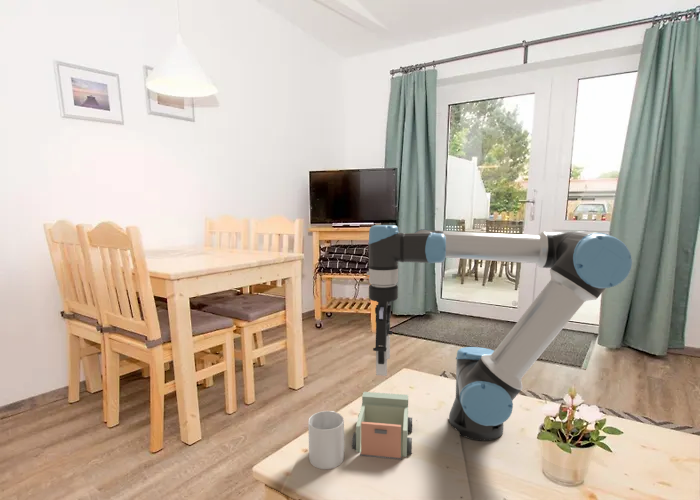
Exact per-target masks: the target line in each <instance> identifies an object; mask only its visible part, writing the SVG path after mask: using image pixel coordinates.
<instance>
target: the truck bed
mask: <svg viewBox="0 0 700 500" xmlns="http://www.w3.org/2000/svg"><path fill="white" fill-rule="evenodd" d="M361 398H362V399H361V401H362V403H361V407H360V410H359V413H358V415H357V421H356V425H355V432H353V434H352V441H351V447H352V449H355V452H356V453H361V423H362V422H373V423H385V424H397V425H401V456H402V457H404V458H406V457H407V456H408V455H412V453H413V452H412V451H413V450H412V449H413V446H412V445H413V444H412V443H413V437H408V434H409V433H413V417H410V416H409V394H402V393H401V394H399V393H386V392H374V391H373V392H371V391H363V393H362V395H361Z"/></svg>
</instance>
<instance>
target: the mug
mask: <svg viewBox="0 0 700 500" xmlns="http://www.w3.org/2000/svg"><path fill="white" fill-rule="evenodd" d="M307 425H308V427H307V428H308V459H309V462H310V463H309V464H310V465H312V466H313V467H314V468H317V469H320V470H330V469H331V470H332V469H335V468H337V467H338V466H341V464H342V463H343V462H344V459H345V419H344V417H343V416H342V415H341V413H338V412H337V411H335V410H322V411H318V412H316V413H313V414H312V415H311V416H310V417H309V418H308V423H307Z"/></svg>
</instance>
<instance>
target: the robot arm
mask: <svg viewBox="0 0 700 500" xmlns="http://www.w3.org/2000/svg"><path fill="white" fill-rule="evenodd" d="M368 233H369V234H368V243H367V244H368V271H367V272H366V275H367V276H368V277H369V278H368V283H369V284H370V285H369V286H368V298H369V300H371V301H372V302H377V304H375V308H374V312H375V347H373V348H372V351H373V352H375V373H376V374H375V375H376V376H384V377H387V376H388V360H390V359H391V348H390V347H391V336H392V335H393V330H391V315H392V314H391V312H392V305H390V302H394V301H395V302H396V301H397V299H398V298H399V297H398V296H399V289H398V288H399V287H398V285H397V284H399V263H417V264H418V263H423V264H425V263H426V264H437V263H438V264H439V263H444V262H445V261H446V258H447V259H448V258H449V259H461V260H462V259H464V260H476V261H477V260H478V261H480V260H481V261H493V262H495V261H496V262H507V263H508V262H509V263H524V264H525V263H526V264H536V265H537V266H538V267H539V268H546V269H549V273H550V274H549V275H550V280H549V281H548V282H547V284H546V285H545V286H544V288H543V289H542V290H541V291H540V293H539V294H538V295H537V297H536V298H535V299H534V300H533V302H532V303H531V304H530V305H529V306H528V308H527V309H526V311H524V313H523V314H522V315H521V317H520V318H519V319H518V320H517V322H516V323H515V324H514V326H513V327H512V328H511V329H510V330H509V332H508V333H507V334H506V336H505V337H504V338H503V339H502V340H501V342H500V344H499V345H498V346H497V347H496V349H490V348H488V347H487V348H485V347H478V346H466V347H461V348H459V349H458V350H457V352H456V357H455V360H456V367H455V368H456V370H455V371H456V372H455V398H454V401H453V403H452V406H451V409H450V411H449V415H448V421H449V423H450V425H451V427H452V428H453V429H454V430H455V431H458V435H460V436H462V437H464V438H467V439H469V440H470V439H471V440H474V441H492V440H496V439H498V438H500V437H502V435H503V434H504V433H503V432H504V423H505V422H507V420H508V419H510V417H511V415H512V413H513V407H514V406H513V405H514V403H513V400H514V399H515V398H516V397H517V396H518V395H519V394H520V392H522V390H523V383H522V381H523V380H522V379H523V377H524V376H525V375H526V373H528V371H529V370H530V369H531V367H533V365H534V364H535V363H536V362H537V360H539V358H540V357H541V355H542V354H543V353H544V352H545V351H546V349H547V348H548V347H549V346H550V344H551V343H552V342H553V341H554V339H556V337H557V336H558V335H559V333H561V331H562V330H563V329H564V328H565V326H566V325H567V324H568V322H570V321H571V319H572V317H573V316H575V314H576V313H577V312H578V311H579V309H580V308H581V307H582V306H583V305H584V304H585V303H586V302H587V301H595V300H597V299H598V298H599V297H600V296H601V295H602V293H604V291H605V290H606V289H610V288H613V287H616V286H618V285H620V284H622V283H623V282H624V281H625V280H626V279H627V277H629V274H630V272H631V270H632V265H633V258H632V255H631V251H630V249H629V248H628V247H627V245H626V244H625V242H623V241H622V240H620V239H619V238H617V237H615V236H613V235H610V234H608V233H605V232H593V231H588V230H571V231H570V230H569V231H550V232H549V231H542V232H540V233H539V234H536V235H535V234H513V233H495V232H494V233H493V232H491V233H490V232H473V231H472V232H471V231H453V230H452V231H448V230H432V229H431V230H429V229H426V228H421V229H418V230H416V231H415V232H409V233H405V232H399V227H398V226H397V225H395V224H377V225H375V224H374V225H372V226H370V227H369V231H368Z"/></svg>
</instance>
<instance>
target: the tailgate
mask: <svg viewBox="0 0 700 500" xmlns="http://www.w3.org/2000/svg"><path fill="white" fill-rule="evenodd" d="M359 453H360V454H359V455H360V456H361V457H362V456H363V457H372V458H381V459H390V460H392V459H393V460H400V461H401V460H402V457H403V456H401V425H397V424H385V423H373V422H362V423H361V452H359Z"/></svg>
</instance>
